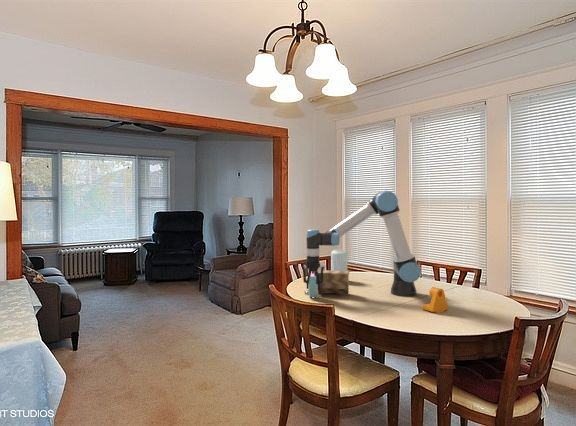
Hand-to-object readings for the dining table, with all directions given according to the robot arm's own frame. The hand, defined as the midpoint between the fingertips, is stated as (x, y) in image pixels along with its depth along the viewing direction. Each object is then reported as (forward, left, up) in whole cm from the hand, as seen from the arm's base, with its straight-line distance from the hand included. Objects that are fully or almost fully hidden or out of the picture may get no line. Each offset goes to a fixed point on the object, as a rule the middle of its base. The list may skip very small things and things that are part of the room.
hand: (313, 294), depth 222 cm
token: (+5, -7, -2) cm, 9 cm away
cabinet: (-10, -9, -2) cm, 14 cm away
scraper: (0, -3, -2) cm, 4 cm away
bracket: (-66, +14, -2) cm, 67 cm away
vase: (-11, -48, -2) cm, 49 cm away
